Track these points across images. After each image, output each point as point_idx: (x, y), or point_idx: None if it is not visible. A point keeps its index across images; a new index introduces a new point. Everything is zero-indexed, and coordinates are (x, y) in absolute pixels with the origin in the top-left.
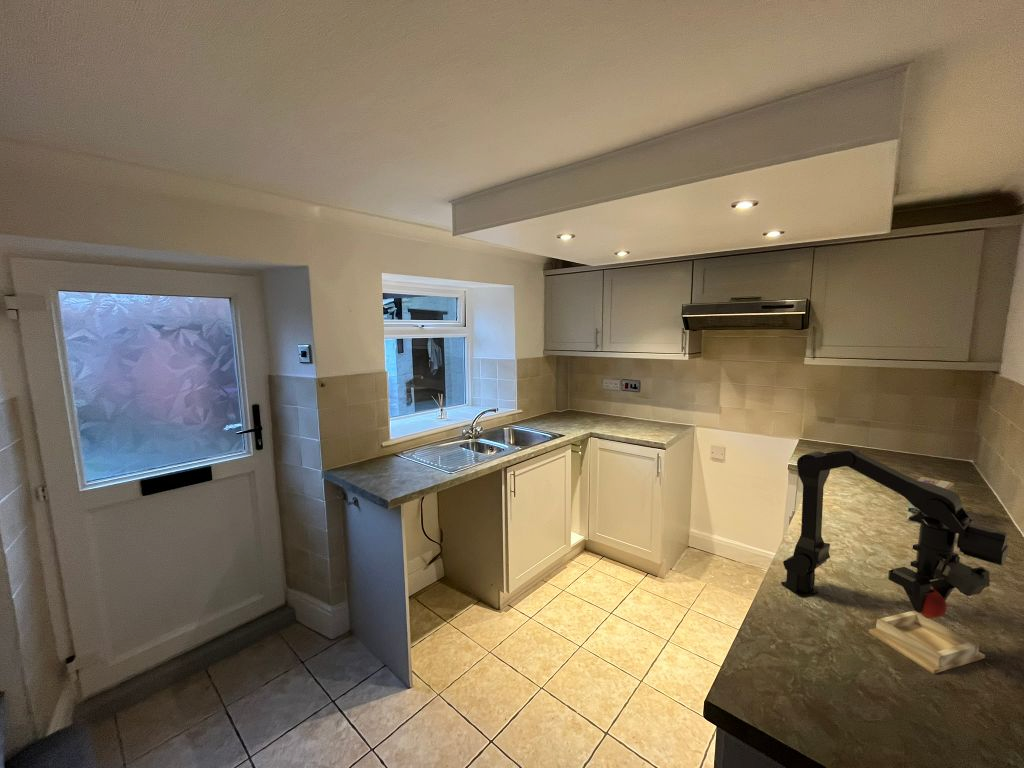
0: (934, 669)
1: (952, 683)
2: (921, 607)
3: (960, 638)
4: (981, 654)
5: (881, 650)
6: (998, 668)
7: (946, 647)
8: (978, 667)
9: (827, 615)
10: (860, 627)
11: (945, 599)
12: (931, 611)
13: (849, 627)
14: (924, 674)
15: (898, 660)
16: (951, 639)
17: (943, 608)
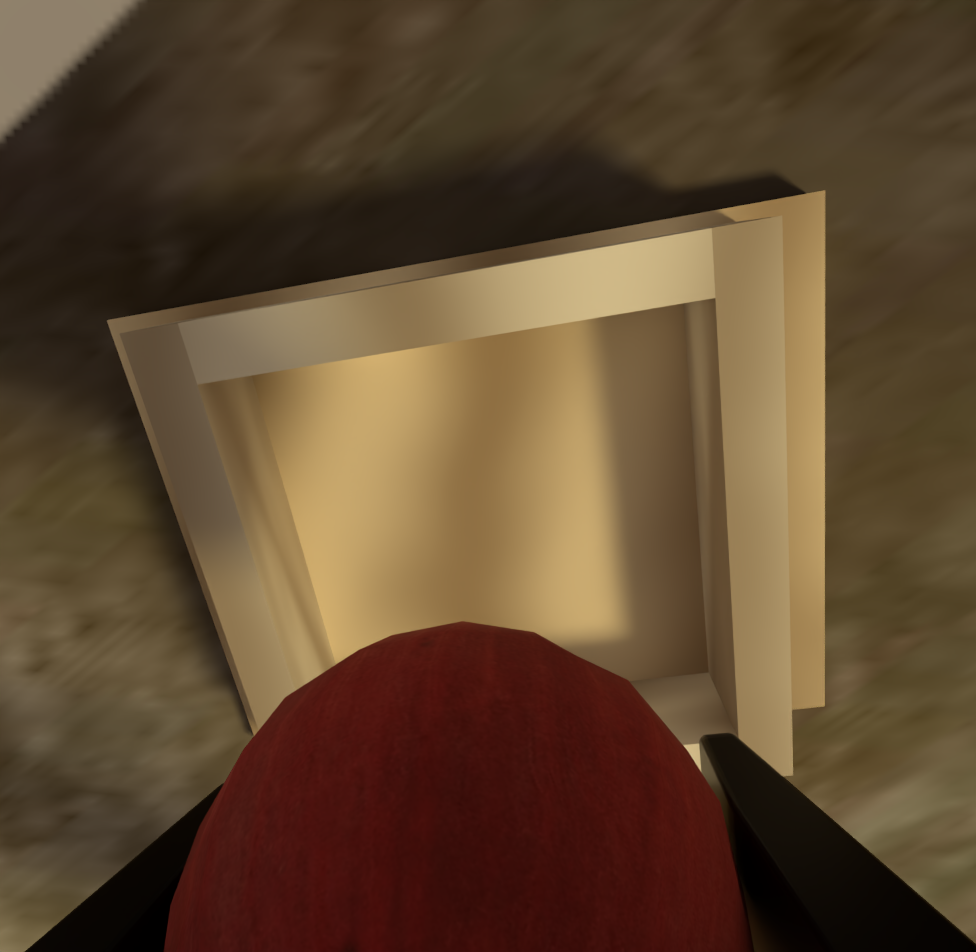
0: (807, 199)
1: (767, 55)
2: (807, 816)
3: (218, 452)
4: (134, 329)
5: (942, 507)
6: (122, 189)
7: (369, 445)
8: (294, 222)
9: (921, 873)
10: (808, 742)
11: (72, 928)
12: (642, 707)
13: (899, 753)
14: (902, 197)
15: (934, 385)
16: (264, 495)
17: (420, 717)
